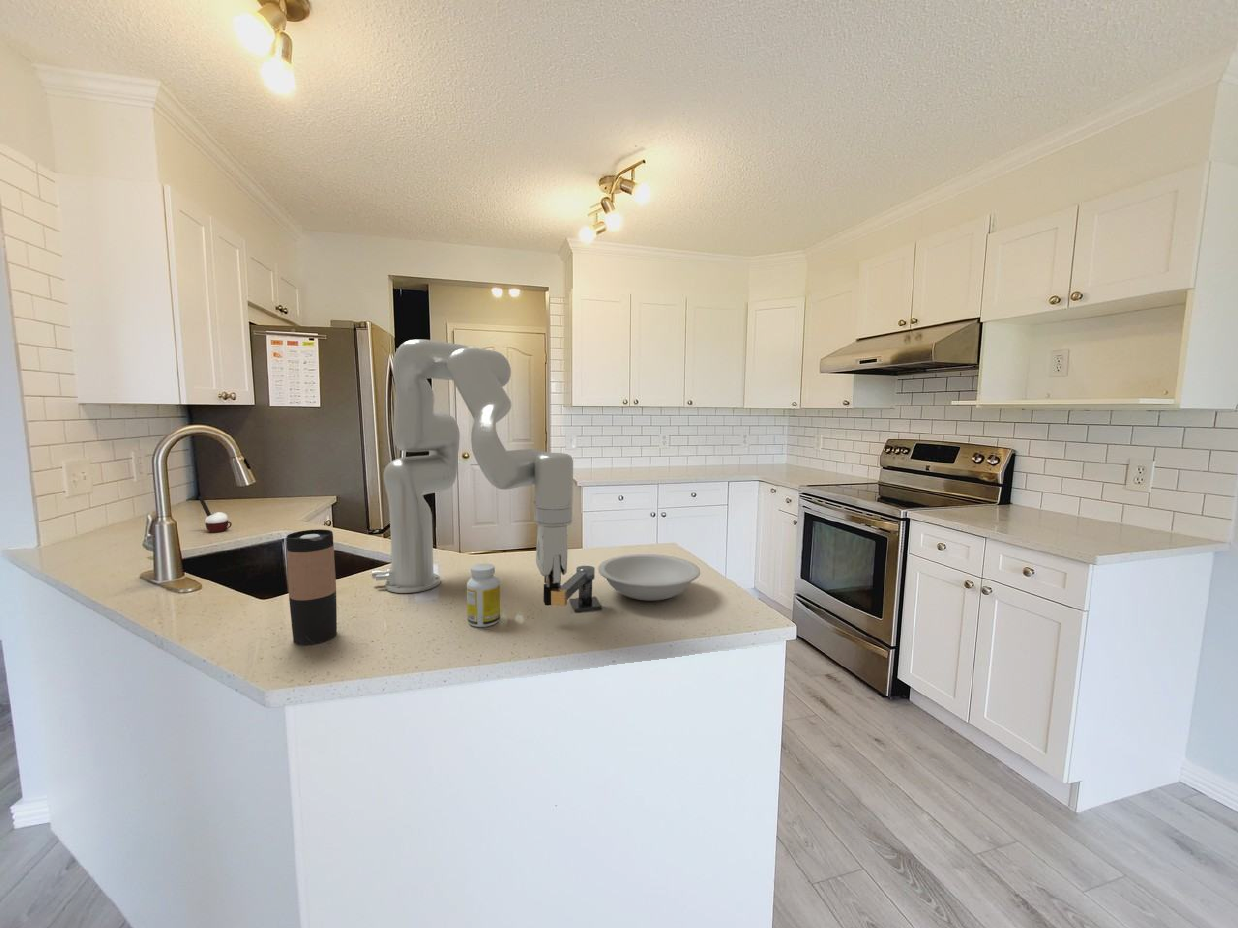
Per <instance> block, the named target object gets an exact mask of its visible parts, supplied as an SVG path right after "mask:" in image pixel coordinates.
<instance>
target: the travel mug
mask: <svg viewBox="0 0 1238 928" xmlns="http://www.w3.org/2000/svg"><path fill="white" fill-rule="evenodd" d="M285 537H286V539H285V541H286V558H287V559H286V560H287V561H286V562H287V578H288V579H287V581H288V582H287V583H288V584H287V585H288V598H289V599H288V601H289V609H290V621H291V631H292V640H293V642H294V644H296V645H299V646H310V645H311V646H313V645H318V644H322V643H325V642H329V640H332V639H333V638H334V637H335V636H337V631H338V627H337V625H338V623H337V620H338V619H337V618H338V617H337V616H338V614H337V611H338V609H337V579H336V565H335V550H334V548H335V545H334V532H333V531H332V530H329V529H308V530H307V529H305V530H300V531H296V532H292V533H291V532H290V533H289V534H287V535H286V536H285Z"/></svg>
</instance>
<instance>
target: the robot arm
mask: <svg viewBox="0 0 1238 928" xmlns="http://www.w3.org/2000/svg"><path fill="white" fill-rule="evenodd" d="M392 360H393V361H392V375H393V381H394V388H395V397H394V398H395V399H394V410H393V411H394V412H393V430H392V431H393V433H392V434H393V443H394V445H395V447H396V448H397V449H398V450H399V451H401V452H407V453H423V452H428V453H429V454H427V455H415V456H414V455H413V456H405V457H399V458H396V459H393V460H392V461H390V462H389V463H388V464H387V465H386V466H385V468H384V470H383V484H384V488H385V492H386V495H387V497H386V498H387V503H388V510H389V526H390V527H389V528H390V529H389V530H390V554H391V556H390V557H391V558H390V559H391V566H390V568H386V569H385V570H381V569H379V570H372V573H371V574H372V575H371V578H372V579H373V580H375V581H377V582H378V581H384V580H386V581H385V587H384V588H385V590H387V592H388V591H389V592H392V593H397V594H410V593H411V594H413V593H418V592H424V591H427V590H430V589H433V588H435V587H437V586H439V585H440V583H441V577H440V575H439V574H437V573H435V572H434V552H433V551H434V548H433V547H434V541H433V514H432V511H431V507H430V506H429V504H428V502H427V501H426V499H425V498H424V495H428V494H434V493H435V494H436V493H440V492H445V491H448V490H450V489H451V488H452V487H453V485H454V483H455V482H456V478H457V474H458V472H457V471H458V464H459V463H458V461H459V452H460V451H459V450H460V438H461V436H460V428H459V425H458V422H457V421H456V419H455V418H454V417H453V416H452V415H450V414H449V413H446V412H442V411H441V412H440V411H434V410H435V409H434V408H435V407H434V406H435V393H434V391H433V387H432V386H431V384H430V382H429V381H428V379H431V380H434V379H436V380H445V381H452V382H453V383H454V385H455V387H456V389H457V390H458V393H459V395H460V396H461V398H462V399H463V402H464V403H465V405H466V408H468V409H467V410H468V411H469V412H470V414H471V416H472V418H473V424H472V427H471V434H470V435H471V438H470V439H471V450H472V454H473V457H474V459H475V460H476V462H477V464H478V466H479V468H480V470H481V472H482V474H483V475H484V477H485V478H486V480H487V481H488V482H489V483H490V484H491V485H492V486H493V487H495V488H497V489H498V490H499V489H500V490H505V491H506V490H512V489H518V488H523V487H530V486H534V498H533V499H534V501H533V502H534V504H533V505H534V513H533V516H534V517H533V519H534V520H533V522H534V524H535V525H537V534H536V550H535V551H536V553H535V563H536V567H537V569H538V570H539V573H540V575H541V576H542V577H543V581H544V583H543V603H544V606H546V607H547V606H548V607H549V606H552V605H551V590H553V589H558V588H559V587H561V586H562V585H561V580H562V576H564V575H566V574H567V572H568V571H567V570H568V525H569V526H570V525H572V524H573V504H574V503H573V498H574V497H573V496H574V493H573V491H574V459H573V457H572V456H571V454H570V455H569V454H568V453H563V452H549V451H544V450H541V449H539V448H538V449H537V448H529V449H528V448H527V449H513V450H507V449H506V448H505V446H504V445H503V442H502V441H501V439H500V437H499V435H498V432H497V429H496V423H499V422H500V421H501V420H502V419H504V418H505V417H506V416H508V413H510V411H511V408H512V402H511V400H510V397H509V395H508V394H507V393H506V391H505V389H504V387H505V386H506V385H507V384H508V383H509V381H510V378H511V374H512V370H511V364H510V363H509V361H508V359H507V357H505V355H504V354H502V353H501V352H499V351H496V350H491V349H486V348H485V349H484V348H483V349H482V348H478V347H475V346H474V347H473V346H469V345H466V344H465V345H464V344H459V343H458V344H457V343H451V342H444V341H440V340H439V341H438V340H434V339H433V340H431V339H421V338H420V339H418V338H417V339H409V340H407V341H404V342H403V343H402V344H400V345H399V347H398V348H397V349H396V351H395V354H394V356H393V359H392Z"/></svg>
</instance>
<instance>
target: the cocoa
mask: <svg viewBox="0 0 1238 928" xmlns="http://www.w3.org/2000/svg"><path fill="white" fill-rule="evenodd" d="M198 500H199V502H200V504H201V507H202V508H203V510H204V512H205V515H206V518H205V520H204V524H205V527H206V530H207V532H209V533H212V534H217V533H223V532H226V530H229V528H231V527H232V526H233V525H232V524H233V523H232V522H231V521H229V519H228V514H226V513H225V512H222V511H221V512H220V511H218V512H214V513H213V514H212V513H211V512H210V510H209V508H208V505H207V503H206V501H205V499H204V497H203V496H198Z"/></svg>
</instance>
